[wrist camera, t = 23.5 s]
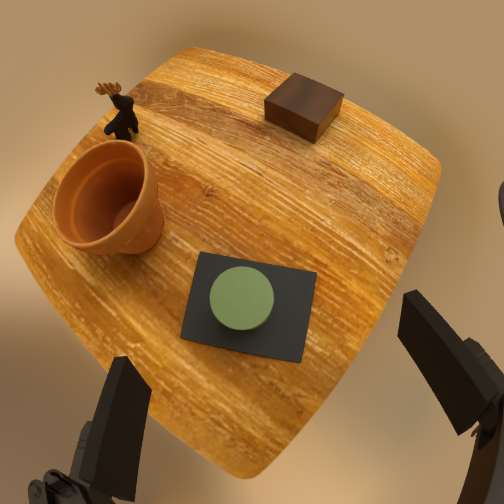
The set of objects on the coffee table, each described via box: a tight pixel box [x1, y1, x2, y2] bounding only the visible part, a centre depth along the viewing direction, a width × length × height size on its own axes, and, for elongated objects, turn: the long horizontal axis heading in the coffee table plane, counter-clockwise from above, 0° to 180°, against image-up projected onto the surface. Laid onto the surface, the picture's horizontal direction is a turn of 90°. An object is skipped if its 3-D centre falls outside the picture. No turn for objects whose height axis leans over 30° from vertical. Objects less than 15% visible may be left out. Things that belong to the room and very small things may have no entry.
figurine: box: [95, 82, 138, 142], centre depth 38 cm, size 11×7×15 cm
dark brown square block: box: [264, 73, 344, 144], centre depth 42 cm, size 10×10×5 cm
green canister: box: [210, 267, 274, 330], centre depth 30 cm, size 6×6×10 cm
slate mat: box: [180, 252, 317, 363], centre depth 35 cm, size 16×12×1 cm
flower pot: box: [52, 140, 164, 255], centre depth 33 cm, size 14×14×13 cm
